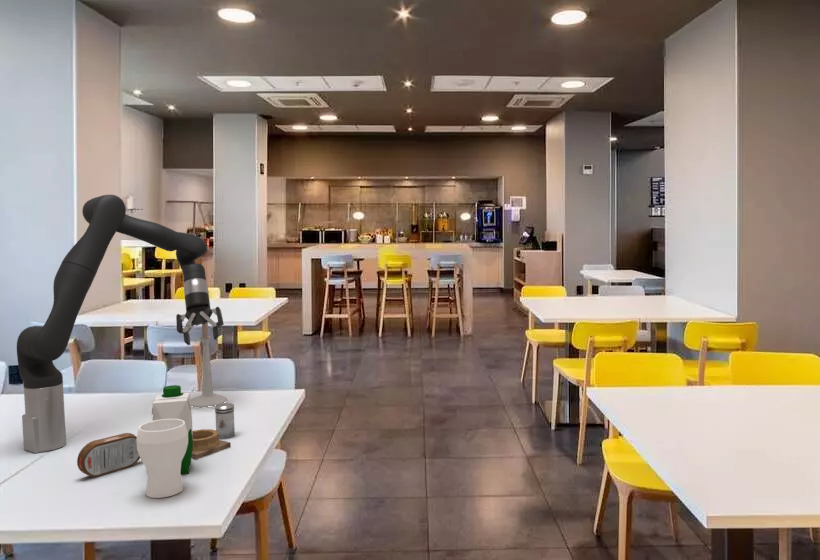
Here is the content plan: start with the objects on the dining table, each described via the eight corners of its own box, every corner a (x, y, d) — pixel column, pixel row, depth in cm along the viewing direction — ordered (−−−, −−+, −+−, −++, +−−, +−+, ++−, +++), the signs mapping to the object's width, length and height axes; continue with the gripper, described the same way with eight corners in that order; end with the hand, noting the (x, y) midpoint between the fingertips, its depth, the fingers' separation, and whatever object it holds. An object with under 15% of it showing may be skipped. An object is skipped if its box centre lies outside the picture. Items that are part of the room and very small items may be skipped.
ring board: (196, 459, 155) (195, 444, 155) (169, 452, 161) (168, 437, 161) (230, 446, 165) (230, 432, 164) (203, 440, 171) (203, 426, 170)
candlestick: (186, 400, 214) (183, 315, 212) (224, 396, 220) (221, 313, 218) (190, 409, 203) (186, 320, 201) (230, 404, 208) (226, 317, 206)
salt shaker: (224, 440, 170) (223, 408, 170) (212, 437, 173) (210, 406, 172) (239, 435, 175) (237, 404, 174) (226, 432, 177) (225, 402, 177)
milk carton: (195, 461, 154) (191, 383, 153) (192, 474, 145) (188, 392, 144) (157, 465, 152) (154, 386, 150) (152, 479, 143) (148, 395, 142)
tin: (139, 460, 156) (138, 428, 155) (145, 463, 154) (144, 430, 153) (77, 479, 144) (75, 444, 143) (83, 482, 142) (81, 447, 141)
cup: (196, 481, 141) (193, 417, 140) (181, 500, 131) (177, 431, 130) (150, 482, 141) (147, 418, 140) (130, 502, 130) (127, 433, 129)
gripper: (171, 295, 197) (176, 343, 191) (216, 287, 199) (222, 334, 193) (177, 302, 204) (182, 349, 198) (221, 294, 206) (227, 340, 200)
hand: (202, 341), depth 196 cm, fingers open, 8 cm apart
